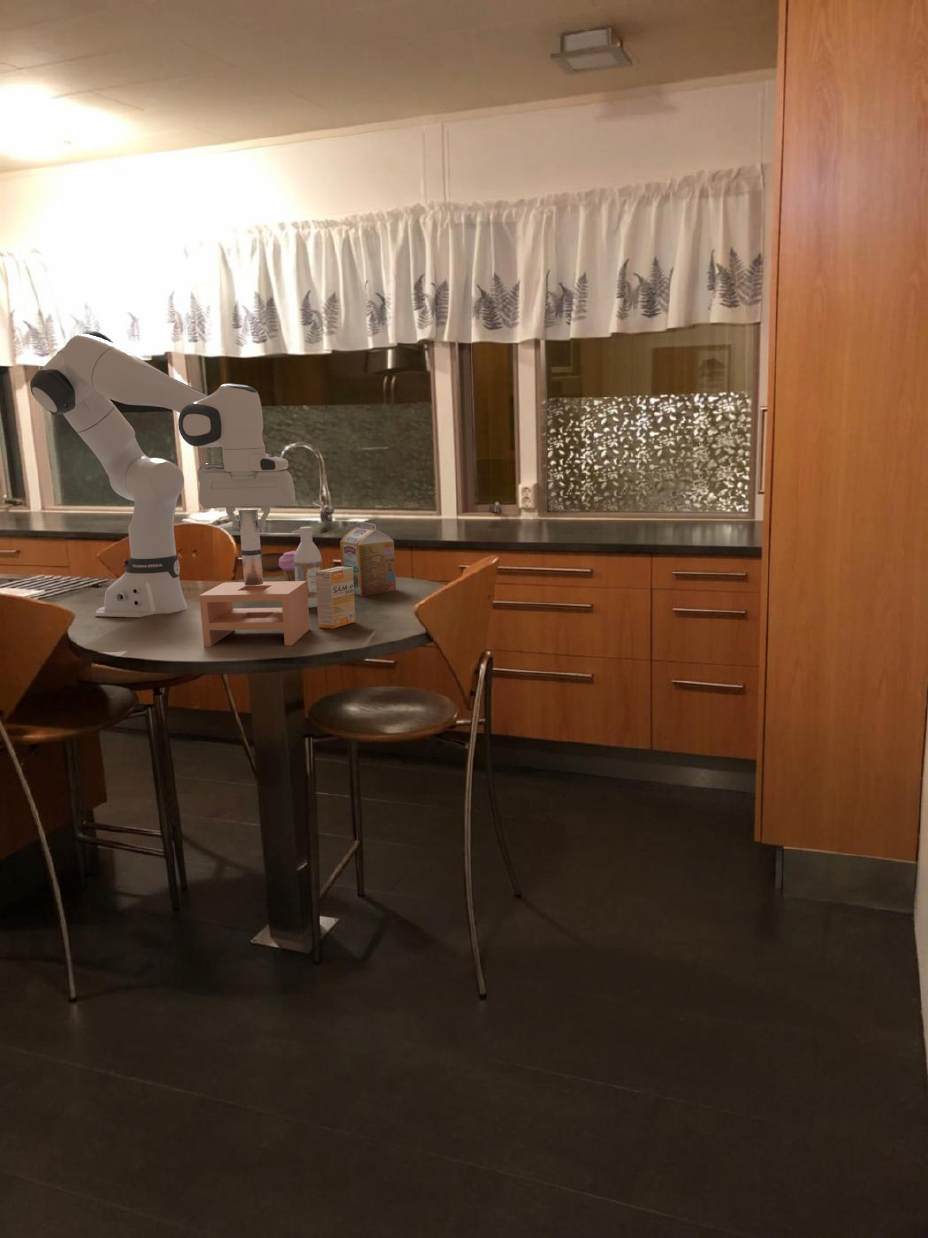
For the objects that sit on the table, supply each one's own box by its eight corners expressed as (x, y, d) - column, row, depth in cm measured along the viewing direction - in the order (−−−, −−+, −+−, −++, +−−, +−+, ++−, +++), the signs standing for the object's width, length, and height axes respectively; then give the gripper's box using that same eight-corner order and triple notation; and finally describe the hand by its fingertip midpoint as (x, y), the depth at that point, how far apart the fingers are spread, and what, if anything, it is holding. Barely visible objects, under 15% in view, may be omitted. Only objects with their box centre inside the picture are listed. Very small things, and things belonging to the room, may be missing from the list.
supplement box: (334, 629, 221) (330, 571, 218) (317, 627, 223) (314, 570, 221) (357, 622, 228) (353, 566, 225) (340, 620, 230) (337, 565, 228)
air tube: (241, 585, 211) (235, 511, 208) (247, 582, 215) (241, 509, 212) (260, 585, 210) (254, 510, 207) (266, 582, 215) (260, 508, 211)
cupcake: (276, 587, 279) (273, 552, 277) (286, 582, 287) (284, 548, 285) (306, 587, 277) (304, 552, 275) (315, 582, 286) (313, 548, 284)
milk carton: (396, 593, 264) (392, 522, 260) (361, 598, 258) (357, 525, 255) (376, 588, 273) (373, 519, 269) (342, 592, 267) (338, 523, 263)
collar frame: (203, 646, 208) (199, 595, 206) (228, 630, 224) (224, 582, 222) (291, 645, 207) (288, 593, 204) (309, 628, 222) (306, 580, 220)
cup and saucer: (276, 570, 313) (275, 550, 311) (302, 573, 305) (300, 553, 304) (246, 575, 304) (245, 555, 302) (272, 578, 296) (270, 558, 295)
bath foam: (304, 609, 245) (298, 529, 241) (292, 605, 251) (287, 527, 247) (329, 605, 249) (324, 527, 245) (317, 602, 255) (312, 524, 251)
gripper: (191, 464, 205) (197, 530, 208) (287, 461, 203) (291, 528, 206) (201, 462, 211) (207, 527, 214) (295, 460, 210) (299, 525, 212)
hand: (249, 527), depth 210 cm, fingers closed on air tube, 4 cm apart
